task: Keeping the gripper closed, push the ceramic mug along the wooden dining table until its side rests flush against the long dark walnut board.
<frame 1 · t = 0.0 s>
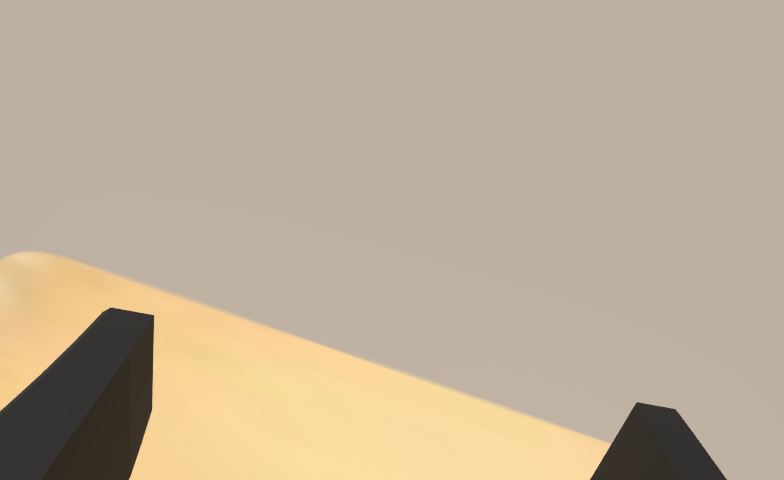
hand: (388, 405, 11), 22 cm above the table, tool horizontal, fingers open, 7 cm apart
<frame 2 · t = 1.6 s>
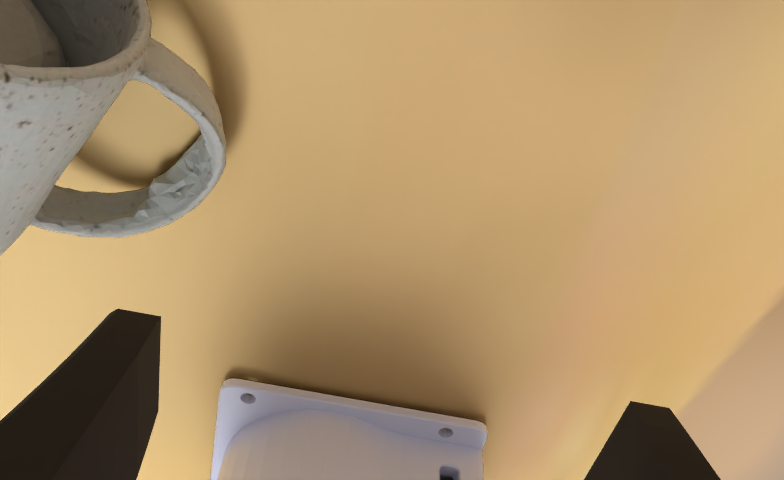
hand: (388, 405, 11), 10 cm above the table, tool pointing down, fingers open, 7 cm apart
ceramic mug: (44, 38, 19), on the table
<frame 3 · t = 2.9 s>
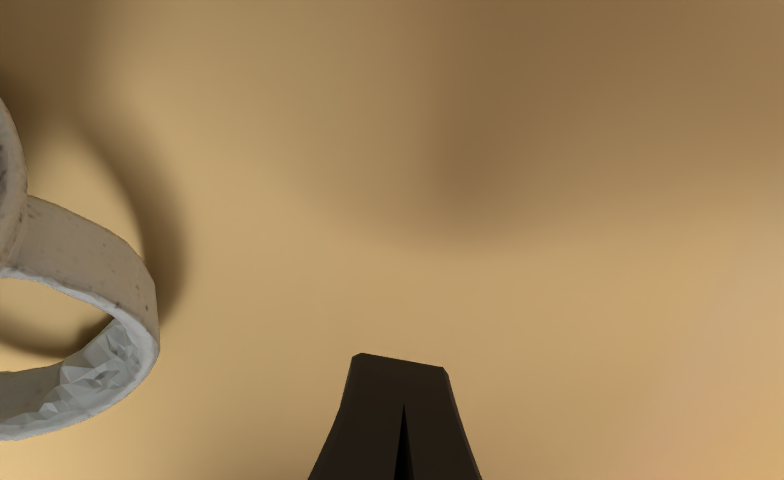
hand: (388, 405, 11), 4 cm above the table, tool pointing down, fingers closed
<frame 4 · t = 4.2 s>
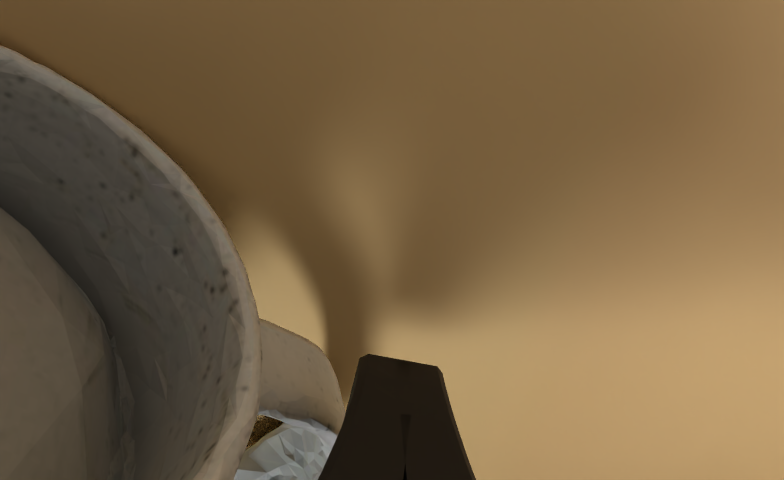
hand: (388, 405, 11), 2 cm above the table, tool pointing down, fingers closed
ceramic mug: (74, 277, 13), on the table, touching gripper
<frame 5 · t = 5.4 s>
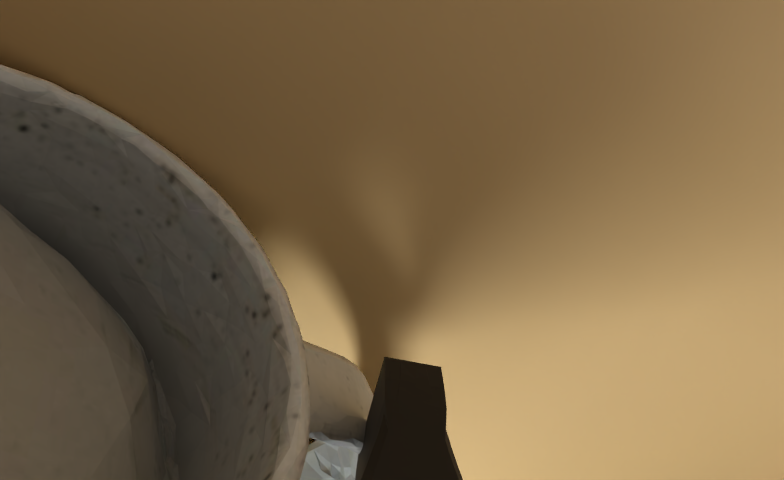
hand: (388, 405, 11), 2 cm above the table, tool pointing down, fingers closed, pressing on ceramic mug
ceramic mug: (107, 300, 13), on the table, touching gripper, walnut board
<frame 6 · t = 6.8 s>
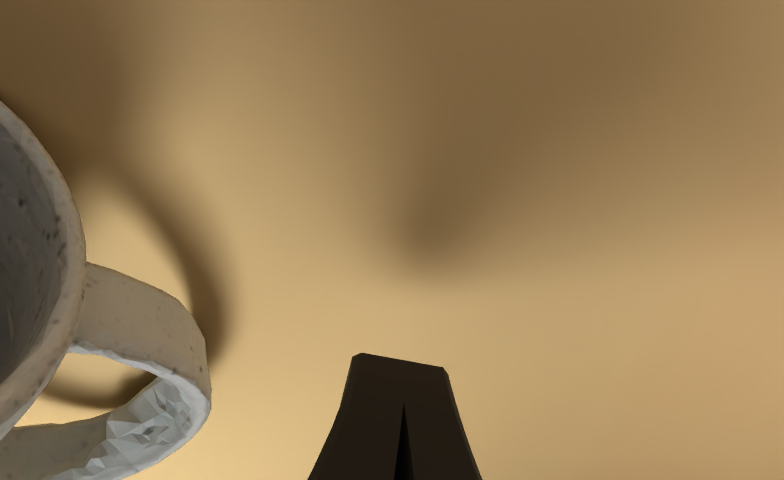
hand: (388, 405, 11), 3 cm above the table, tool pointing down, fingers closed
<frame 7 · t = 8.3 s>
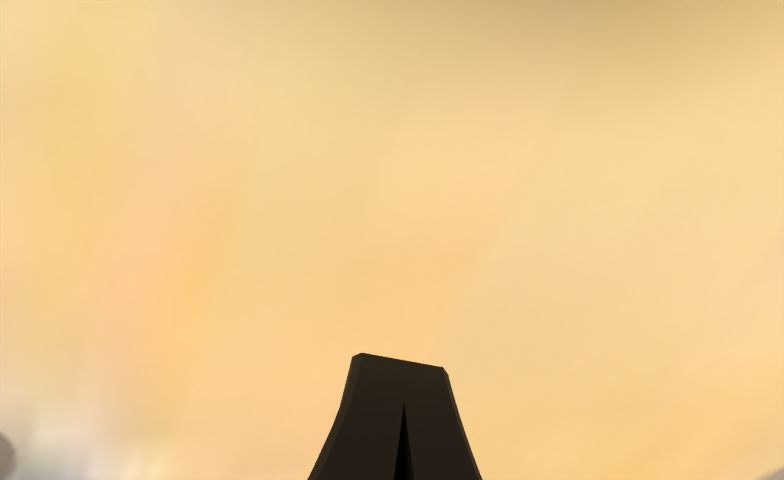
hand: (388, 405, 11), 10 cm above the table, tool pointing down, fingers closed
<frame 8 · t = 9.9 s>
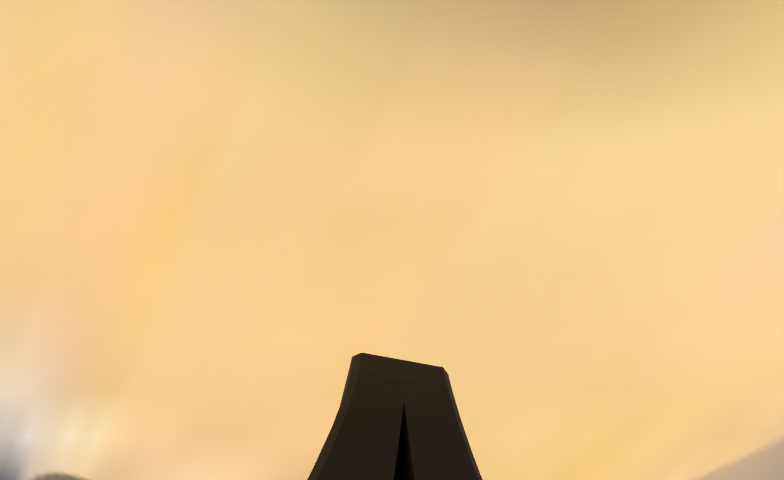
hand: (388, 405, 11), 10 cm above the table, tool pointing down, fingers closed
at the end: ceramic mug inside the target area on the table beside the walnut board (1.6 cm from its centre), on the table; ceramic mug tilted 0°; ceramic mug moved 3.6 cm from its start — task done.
